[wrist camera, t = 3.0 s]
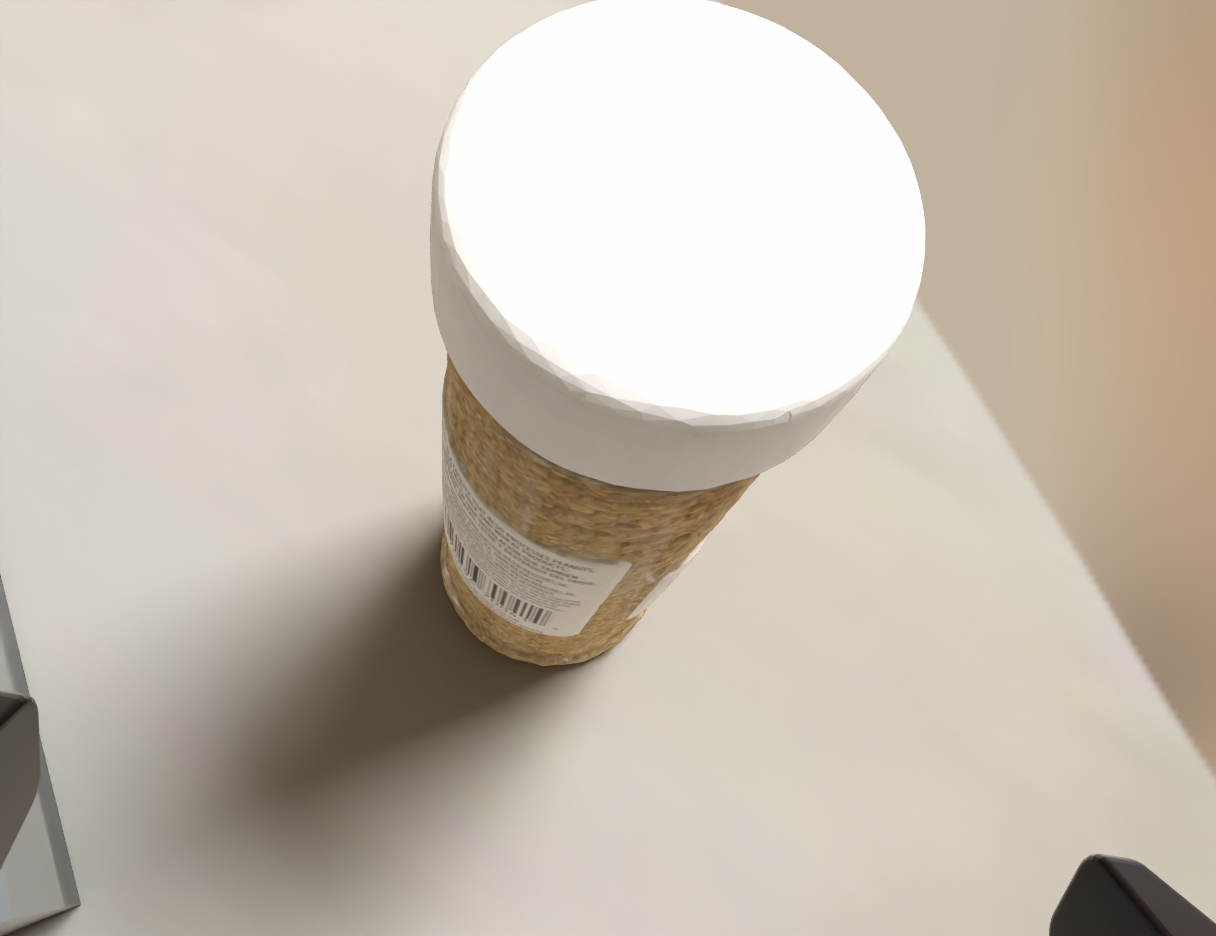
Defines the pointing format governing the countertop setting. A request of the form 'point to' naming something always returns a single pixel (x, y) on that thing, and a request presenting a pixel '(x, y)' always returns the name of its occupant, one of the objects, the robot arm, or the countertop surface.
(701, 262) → the sprinkles bottle
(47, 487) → the countertop surface
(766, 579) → the countertop surface
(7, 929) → the box
